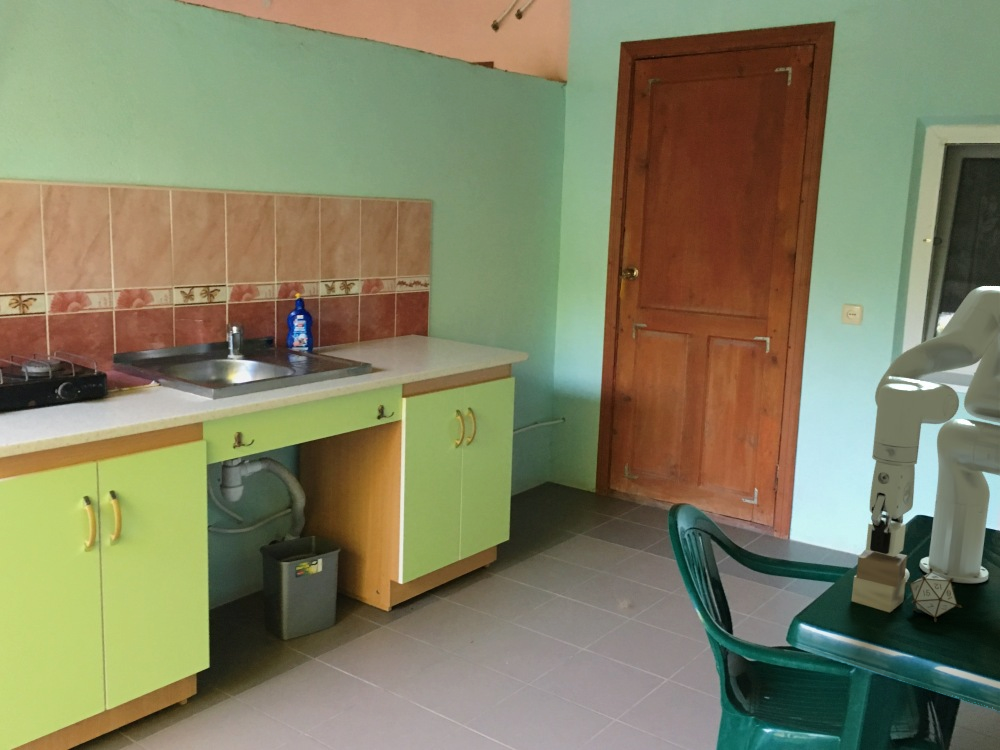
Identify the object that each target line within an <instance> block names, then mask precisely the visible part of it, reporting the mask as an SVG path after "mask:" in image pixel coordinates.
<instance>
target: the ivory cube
mask: <svg viewBox="0 0 1000 750" xmlns="http://www.w3.org/2000/svg"><path fill="white" fill-rule="evenodd" d="M882 520H884V522H885V523H886V518H882ZM872 524H873V523H872V521H870V522H868V524H867V525H868V526H867V535H866V536H867V537H866V545H865V549H866V550H869V551H872V550H870V544H871V534H872ZM906 525H907V524H906V523H899V522H895V521H891V524H890V529H889V533H891V537H890V546H889V553H888V554H885V555H889V556H893V557H894V556H895V555H897V554H898V553H899V554H901V552H903V551H904V545H905V537H906V536H905V535H906V527H907V526H906ZM873 552H875V551H873ZM877 553H879V552H877ZM881 554H883V553H881Z"/></svg>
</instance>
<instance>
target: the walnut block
mask: <svg viewBox="0 0 1000 750" xmlns="http://www.w3.org/2000/svg"><path fill="white" fill-rule="evenodd" d="M907 559H908V555H907V554H902V553H898V554H897V555H895V556H894V557H893V556H889V555H885V554H881V553H877V552H873V551H869V550H866V548H865V549H864V551H862V552H861V554H859V555H858V557H857V565H856V566H857V567H856V578H860V579H864V580H868V581H872V582H877V583H881V584H885V585H889V586H894V587H897V586H898V584H899V583H900V582H901V580H902V579H903V578H904V576H905V570H906V569H907Z"/></svg>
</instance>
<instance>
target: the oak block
mask: <svg viewBox="0 0 1000 750" xmlns="http://www.w3.org/2000/svg"><path fill="white" fill-rule="evenodd" d="M856 575H857V574H856ZM856 575H854V576H853V583H852V592H851V602H854V603H856V604H860V605H864V606H867V607H870V608H874V609H876V610H880V611H883V612H887V613H891V612H893V611H894V609H896V608H897V607H899V606H900V605H901V604H902V603H904V599H905V588H906V584H905V582H906V577H904V578H903V579H902V580H901V582H900V583H899V584H898V586H897V587H894V586H889V585H885V584H881V583H877V582H872V581H868V580H864V579H860V578H856Z"/></svg>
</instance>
